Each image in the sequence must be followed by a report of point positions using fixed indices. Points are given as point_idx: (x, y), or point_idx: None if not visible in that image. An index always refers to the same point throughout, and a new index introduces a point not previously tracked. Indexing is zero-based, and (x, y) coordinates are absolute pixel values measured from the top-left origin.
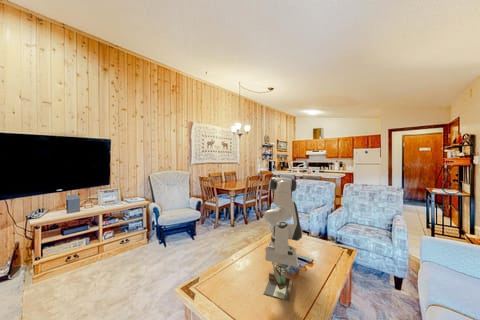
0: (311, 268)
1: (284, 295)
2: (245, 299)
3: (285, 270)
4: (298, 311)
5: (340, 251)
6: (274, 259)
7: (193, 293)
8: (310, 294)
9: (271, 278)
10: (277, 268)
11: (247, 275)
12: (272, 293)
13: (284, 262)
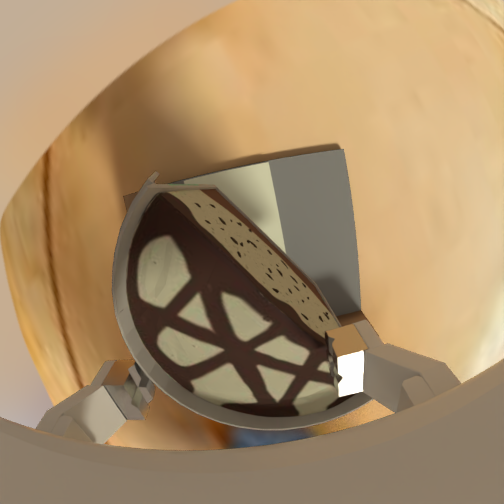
0: None
1: None
2: (407, 55)
3: (165, 376)
4: (80, 145)
5: None
6: (449, 481)
7: None
8: (86, 322)
9: (347, 322)
10: (303, 364)
11: (476, 268)
12: (285, 184)
13: (81, 486)
